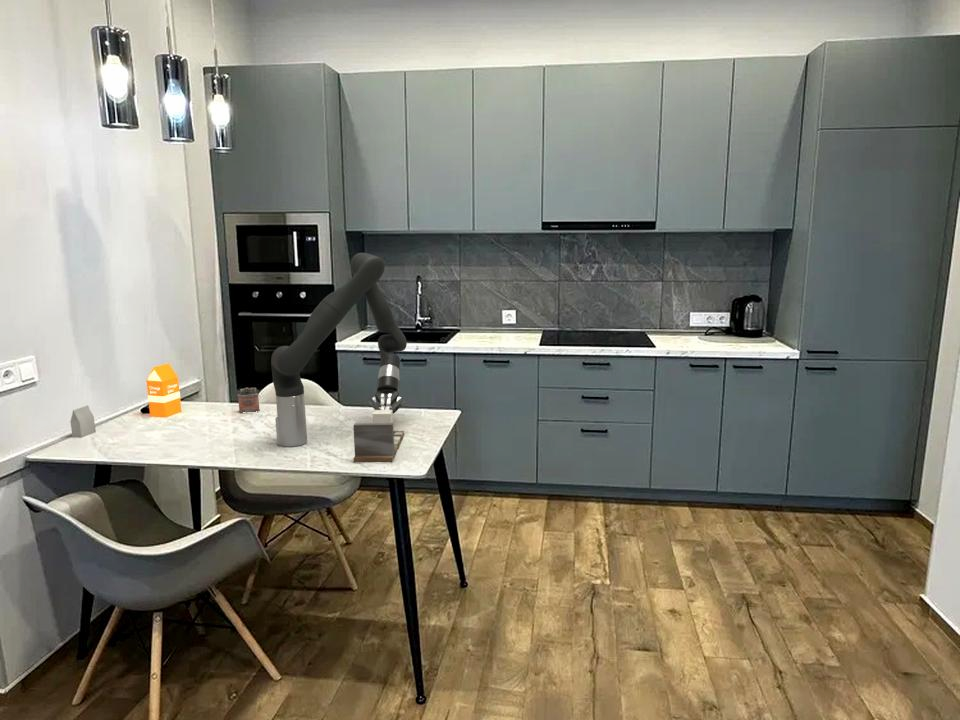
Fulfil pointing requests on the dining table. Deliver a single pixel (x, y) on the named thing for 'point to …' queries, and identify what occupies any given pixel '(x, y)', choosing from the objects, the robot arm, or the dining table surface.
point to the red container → (248, 400)
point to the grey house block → (82, 422)
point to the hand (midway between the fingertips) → (384, 422)
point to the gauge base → (376, 441)
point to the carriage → (383, 416)
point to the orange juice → (163, 391)
